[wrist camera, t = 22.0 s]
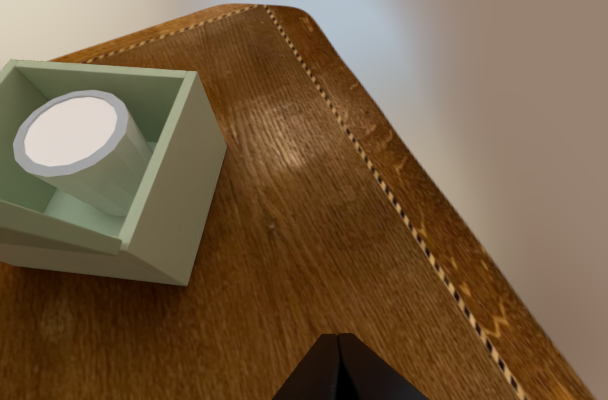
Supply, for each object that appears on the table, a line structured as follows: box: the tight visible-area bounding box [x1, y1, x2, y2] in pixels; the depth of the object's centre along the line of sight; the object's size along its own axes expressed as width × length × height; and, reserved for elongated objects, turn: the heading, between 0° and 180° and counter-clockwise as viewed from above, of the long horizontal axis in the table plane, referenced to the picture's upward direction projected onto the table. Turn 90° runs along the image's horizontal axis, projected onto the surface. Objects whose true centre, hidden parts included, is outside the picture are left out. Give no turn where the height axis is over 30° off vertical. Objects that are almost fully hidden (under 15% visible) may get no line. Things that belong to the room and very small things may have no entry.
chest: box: [0, 59, 227, 286], centre depth 22 cm, size 12×13×8 cm
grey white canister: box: [13, 90, 153, 217], centre depth 22 cm, size 7×7×7 cm
